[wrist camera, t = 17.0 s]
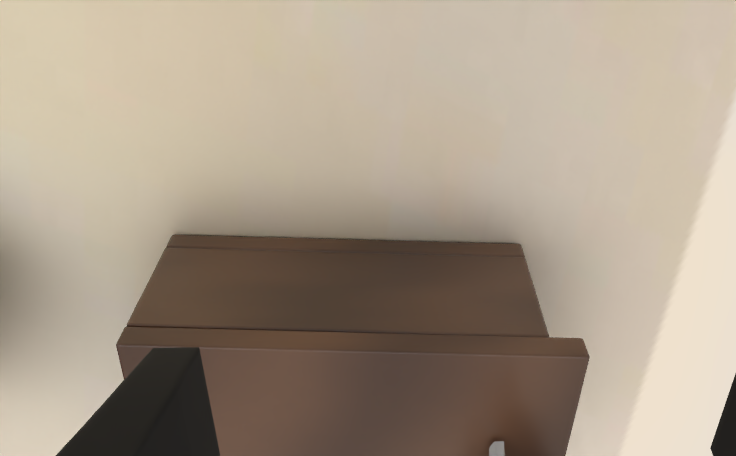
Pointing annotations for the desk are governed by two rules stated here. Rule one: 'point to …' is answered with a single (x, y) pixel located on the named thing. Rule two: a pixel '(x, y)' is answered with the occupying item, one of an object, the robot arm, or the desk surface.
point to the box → (341, 287)
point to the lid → (379, 390)
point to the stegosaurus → (497, 449)
